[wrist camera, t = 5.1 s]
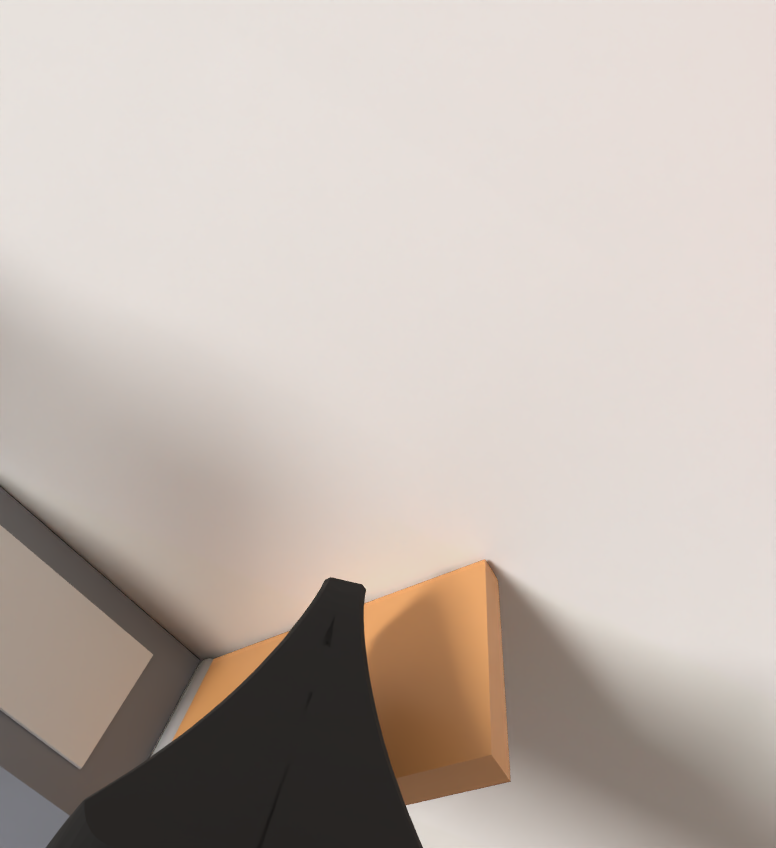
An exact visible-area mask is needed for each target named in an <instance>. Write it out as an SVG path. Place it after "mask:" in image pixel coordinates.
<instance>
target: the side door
mask: <svg viewBox="0 0 776 848" xmlns="http://www.w3.org/2000/svg"><path fill="white" fill-rule="evenodd" d="M288 633H289V631H288V632H286V633H283V634H280V635H277V636H275V637H272V638H269V639H267V640H264V641H261V642H258V643H256V644H253V645H250V646H248V647H245V648H242V649H239V650H237V651H234V652H231V653H228V654H226V655H223V656H220V657H218V658H215V659H205V660H203V661H201V663H200V665H199V666H198V668H197V670H196V672H195V674H194V676H193V678H192V680H191V682H190V683H189V685H188V687H187V689H186V691H185V693H184V695H183V697H182V699H181V700H180V702H179V704H178V706H177V708H176V710H175V712H174V714H173V716H172V717H171V719H170V721H169V723H168V725H167V727H166V729H165V731H164V733H163V734H162V736H161V738H160V740H159V742H158V744H157V746H156V748H155V750H154V751H153V753H152V755H154V754H155V753H157V752H158V751H159V750H161V749H162V748H164V747H165V746H166V745H168V744H169V743H170V742H172V741H173V740H175V739H176V738H177V737H179V736H180V735H182V734H183V733H184V732H185V731H187V730H188V729H189V728H191V727H192V726H193V725H194V724H196V723H197V722H198V721H199V720H200V719H202V718H203V717H204V716H205V715H206V714H208V713H209V712H210V711H211V710H212V709H214V708H215V707H216V706H217V705H218V704H219V703H221V702H222V701H223V700H224V699H225V698H226V697H227V696H228V695H229V694H231V693H232V692H233V691H234V690H235V689H236V688H237V687H238V686H239V685H240V684H241V683H242V682H243V681H244V680H245V679H246V678H247V677H248V676H249V675H250V674H251V673H252V672H253V671H254V670H255V669H256V668H257V667H258V666H259V665H260V664H261V663H262V662H263V661H264V660H265V659H266V658H267V657H268V655H269V654H270V653H271V652H272V651H273V650H274V649H275V648H276V647H277V646H278V645H279V643H280V642H281V641H282V640H283V639H284V638H285V636H286V635H287V634H288ZM364 634H365V645H366V653H367V662H368V669H369V675H370V681H371V687H372V692H373V697H374V702H375V706H376V711H377V715H378V720H379V724H380V727H381V731H382V735H383V739H384V742H385V746H386V749H387V752H388V756H389V759H390V762H391V766H392V769H393V771H394V774H395V777H396V780H397V783H398V786H399V788H400V791H401V794H402V797H403V800H404V802H405V805H409V804H414V803H418V802H422V801H427V800H431V799H436V798H440V797H444V796H449V795H453V794H458V793H462V792H466V791H471V790H475V789H480V788H484V787H489V786H493V785H497V784H502V783H506V782H511V780H510V764H509V748H508V732H507V716H506V700H505V684H504V668H503V652H502V635H501V619H500V603H499V587H498V580H497V578H496V576H495V575H494V573H493V572H492V570H491V568H490V567H489V565H488V563H487V562H486V560H482V561H479V562H476V563H474V564H471V565H468V566H466V567H463V568H460V569H457V570H455V571H452V572H449V573H446V574H444V575H441V576H438V577H436V578H433V579H430V580H427V581H425V582H422V583H419V584H416V585H414V586H411V587H408V588H406V589H403V590H400V591H397V592H395V593H392V594H389V595H386V596H384V597H381V598H378V599H376V600H373V601H370V602H367V603H365V604H364ZM152 755H151V756H152Z"/></svg>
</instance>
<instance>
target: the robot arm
mask: <svg viewBox="0 0 776 848" xmlns="http://www.w3.org/2000/svg"><path fill="white" fill-rule="evenodd" d="M365 592H366V589H365V588H364V586H363V585H362V584H357V583H353V582H349V581H344V580H340V579H336V578H331V577H330V578H328V579H326V580H325V581H324V583H323V585H322V587H321V589H320V590H319V592H318V593H317V595H316V597H315V598H314V600H313V601H312V603H311V604H310V606H309V607H308V608H307V610H306V611H305V612H304V614H303V615H302V616H301V618H300V619H299V620H298V622H297V623H296V624H295V625H294V626H293V628H292V629H291V630H290V631H289V633H288V634H287V635H286V636H285V638H284V639H283V640H282V641H281V642H280V643H279V645H278V646H277V647H276V648H275V649H274V650H273V651H272V652H271V653H270V654H269V655H268V657H267V658H266V659H265V660H264V661H263V662H262V663H261V664H260V665H259V666H258V667H257V668H256V669H255V670H254V671H253V672H252V673H251V674H250V675H249V676H248V677H247V678H246V679H245V680H244V681H243V682H242V683H241V684H240V685H239V686H238V687H237V688H236V689H235V690H234V691H233V692H232V693H231V694H229V695H228V696H227V697H226V698H225V699H224V700H223V701H222V702H221V703H219V704H218V705H217V706H216V707H215V708H214V709H212V710H211V711H210V712H209V713H208V714H206V715H205V716H204V717H203V718H202V719H200V720H199V721H198V722H197V723H196V724H194V725H193V726H192V727H191V728H189V729H188V730H187V731H185V732H184V733H183V734H182V735H180V736H179V737H177V738H176V739H175V740H173V741H172V742H170V743H169V744H168V745H166V746H165V747H164V748H162V749H161V750H159V751H158V752H157V753H155V754H154V755H152V756H151V757H150V758H148V759H147V760H146V761H144V762H143V763H141V764H140V765H138V766H137V767H135V768H134V769H132V770H131V771H129V772H127V773H126V774H124V775H123V776H121V777H119V778H118V779H116V780H115V781H113V782H111V783H110V784H108V785H107V786H105V787H103V788H102V789H100V790H99V791H97V792H95V793H94V794H92V795H90V796H89V797H87V798H86V799H84V800H83V801H82V802H81V804H80V805H79V806H78V807H77V808H76V809H75V811H74V812H73V813H72V814H71V815H70V816H69V818H68V819H67V820H66V821H65V823H64V824H63V825H62V826H61V828H60V829H59V830H58V832H57V833H56V834H55V836H54V837H53V838H52V840H51V841H50V842H49V844H48V845H47V847H46V848H423V847H422V845H421V842H420V840H419V838H418V835H417V833H416V830H415V828H414V825H413V823H412V821H411V818H410V816H409V813H408V811H407V808H406V805H405V802H404V800H403V797H402V794H401V791H400V788H399V786H398V783H397V780H396V777H395V774H394V771H393V769H392V766H391V762H390V759H389V756H388V752H387V749H386V746H385V742H384V739H383V735H382V731H381V727H380V724H379V720H378V715H377V711H376V706H375V702H374V697H373V692H372V687H371V681H370V675H369V669H368V662H367V653H366V645H365V634H364V599H365Z"/></svg>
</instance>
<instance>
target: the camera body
mask: <svg viewBox="0 0 776 848" xmlns="http://www.w3.org/2000/svg"><path fill="white" fill-rule="evenodd" d="M199 662H200V660H199V659H198V658H197V657H196V656H195V655H193V654H192V653H191V652H190V651H189V650H188V649H186V648H185V647H184V646H183V645H182V644H181V643H180V642H178V641H177V640H176V639H175V638H174V637H173V636H172V635H170V634H169V633H168V632H167V631H166V630H165V629H163V628H162V627H161V626H160V625H159V624H158V623H157V622H155V621H154V620H153V619H152V618H151V617H150V616H148V615H147V614H146V613H145V612H144V611H143V610H142V609H140V608H139V607H138V606H137V605H136V604H135V603H134V602H132V601H131V600H130V599H129V598H128V597H127V596H125V595H124V594H123V593H122V592H121V591H120V590H119V589H117V588H116V587H115V586H114V585H113V584H112V583H111V582H109V581H108V580H107V579H106V578H105V577H104V576H102V575H101V574H100V573H99V572H98V571H97V570H96V569H94V568H93V567H92V566H91V565H90V564H89V563H88V562H86V561H85V560H84V559H83V558H82V557H81V556H79V555H78V554H77V553H76V552H75V551H74V550H73V549H71V548H70V547H69V546H68V545H67V544H66V543H65V542H63V541H62V540H61V539H60V538H59V537H58V536H56V535H55V534H54V533H53V532H52V531H51V530H50V529H48V528H47V527H46V526H45V525H44V524H43V523H41V522H40V521H39V520H38V519H37V518H36V517H35V516H33V515H32V514H31V513H30V512H29V511H28V510H27V509H25V508H24V507H23V506H22V505H21V504H20V503H18V502H17V501H16V500H15V499H14V498H13V497H12V496H10V495H9V494H8V493H7V492H6V491H5V490H4V489H2V488H1V487H0V848H46V847H47V845H48V844H49V842H50V841H51V840H52V838H53V837H54V836H55V834H56V833H57V832H58V830H59V829H60V828H61V826H62V825H63V824H64V823H65V821H66V820H67V819H68V818H69V816H70V815H71V814H72V813H73V812H74V811H75V809H76V808H77V807H78V806H79V805H80V804H81V802H82V801H83V800H84V799H86V798H87V797H89V796H90V795H92V794H94V793H95V792H97V791H99V790H100V789H102V788H103V787H105V786H107V785H108V784H110V783H111V782H113V781H115V780H116V779H118V778H119V777H121V776H123V775H124V774H126V773H127V772H129V771H131V770H132V769H134V768H135V767H137V766H138V765H140V764H141V763H143V762H144V761H146V760H147V759H148V758H150V757H151V755H152V754H151V752H152V750H153V748H154V746H155V745H156V743H157V741H158V739H159V737H160V735H161V733H162V731H163V730H164V728H165V726H166V724H167V722H168V720H169V718H170V716H171V715H172V713H173V711H174V709H175V707H176V705H177V703H178V701H179V699H180V698H181V696H182V694H183V692H184V690H185V688H186V686H187V684H188V683H189V681H190V679H191V677H192V675H193V673H194V671H195V669H196V668H197V666H198V664H199Z"/></svg>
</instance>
